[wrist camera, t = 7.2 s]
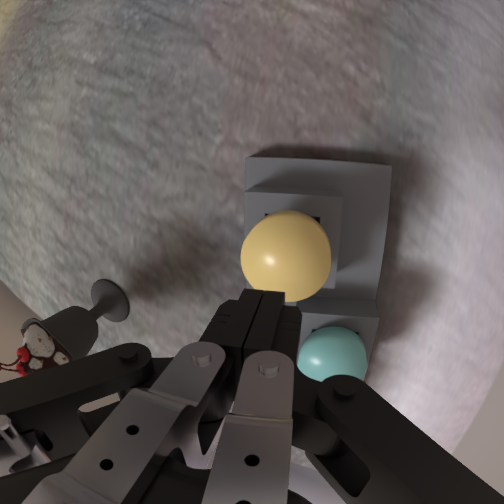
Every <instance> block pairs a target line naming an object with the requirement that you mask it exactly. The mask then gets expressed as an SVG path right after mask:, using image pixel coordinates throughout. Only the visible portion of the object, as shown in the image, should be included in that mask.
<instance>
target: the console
mask: <svg viewBox="0 0 504 504" xmlns="http://www.w3.org/2000/svg"><path fill="white" fill-rule="evenodd" d="M391 181H392V166H390V165H387V164H377V163H367V162H356V161H344V160H331V159H315V158H295V157H264V156H249V157H246V191H245V192H244V241H245V239H246V237H247V236H248V234H249V233H250V232H251V230H252V229H253V228H254V226H255V225H256V224H257V223H258V222H259V221H260V220H261V219H262V218H264V217H265V216H267V215H269V214H271V213H273V212H277V211H282V210H293V211H298V212H302V213H304V214H307V215H308V216H310V217H312V218H313V219H315V220H316V221H317V222H318V223H319V224H320V225H321V226H322V228H323V229H324V231H325V232H326V234H327V236H328V239H329V243H330V250H331V268H330V272H329V275H328V278H327V280H326V282H325V283H324V285H323V286H322V287H321V288H320V289H319V290H318V291H317V292H316V293H315V294H313V295H311V296H310V297H308V298H306V299H303V300H300V301H295V302H285V305H288V306H298V308H299V309H300V311H301V313H302V314H303V315H302V325H301V334H300V344H299V351H300V347H301V344H302V342H303V341H304V340H305V338H306V337H307V336H308V335H310V334H311V333H312V332H314V331H316V330H318V329H321V328H325V327H332V326H335V327H343V328H347V329H350V330H352V331H353V332H355V333H356V334H357V335H359V336H360V338H361V339H362V341H363V343H364V345H365V351H366V359H367V368H368V364H369V361H370V357H371V353H372V349H373V345H374V341H375V337H376V333H377V329H378V325H379V320H380V316H379V312H378V309H377V305H376V301H375V300H376V295H377V289H378V284H379V278H380V272H381V266H382V259H383V253H384V246H385V238H386V230H387V222H388V213H389V204H390V193H391ZM245 281H246V288H249V289H254V288H253V287H252V286H251V284H250V283H249V282H248V280H247V279H246V277H245ZM298 358H299V352H298ZM298 358H297V365H298ZM366 371H367V369H366ZM365 375H366V372H365V374H364V376H363V378H362V379H361V380H362V381H364V378H365Z"/></svg>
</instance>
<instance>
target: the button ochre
mask: <svg viewBox="0 0 504 504" xmlns="http://www.w3.org/2000/svg"><path fill="white" fill-rule="evenodd" d="M241 265H242V270H243V272H244V275H245V277H246V279H247V280H248V282H249V283H250V284H251V286H252V287H253V288H254V289H259V290H264V291H265V290H270V291H280V292H285V302H295V301H300V300H303V299H306V298H308V297H310V296H311V295H313V294H315V293H316V292H317V291H318V290H319V289H320V288H321V287H322V286H323V285H324V283H325V282H326V280H327V278H328V275H329V272H330V268H331V250H330V243H329V239H328V236H327V234H326V232H325V231H324V229H323V228H322V226H321V225H320V224H319V223H318V222H317V221H316V220H315V219H313V218H312V217H310V216H308V215H307V214H304V213H302V212H298V211H293V210H282V211H277V212H273V213H271V214H269V215H267V216H265V217H264V218H262V219H261V220H260V221H259V222H258V223H257V224H256V225H255V226H254V228H253V229H252V230H251V232H250V233H249V234H248V236H247V237H246V239H245V241H244V243H243V246H242V250H241Z"/></svg>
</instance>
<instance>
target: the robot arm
mask: <svg viewBox="0 0 504 504" xmlns="http://www.w3.org/2000/svg"><path fill="white" fill-rule="evenodd" d="M302 315H303V314H302V313H301V311H300V309H299V308H298V306H288V305H285V292H280V291H270V290H265V291H264V290H259V289H249V288H244V290H243V292H242V294H241V296H240V298H239V300H230V299H229V300H228V301H226V302H225V303H223V304H222V305H220V306H219V308H218V310H217V311H216V313H215V315H214V316H213V318H212V320H211V322H210V323H209V325H208V326H207V328H206V330H205V331H204V333H203V335H202V336H201V338H200V340H199V341H198V342H194V343H191V344H188V345H186V346H184V347H183V348H182V349H181V350H180V351H179V352H178V353H177V355H176V356H175V357H171V358H152V356H151V352H150V350H149V349H148V348H147V347H146V346H145V345H142V344H139V343H125V344H122V345H119V346H116V347H113V348H110V349H107V350H104V351H101V352H98V353H95V354H92V355H89V356H86V357H83V358H80V359H77V360H74V361H71V362H68V363H65V364H62V365H58V366H55V367H52V368H49V369H46V370H43V371H39V372H36V373H33V374H30V375H26V376H23V377H20V378H16V379H13V380H9V381H6V382H3V383H0V504H312V503H311V502H309V501H308V500H307V499H305V498H304V497H302V496H300V495H299V494H297V493H295V492H293V491H291V490H289V489H288V484H289V471H290V459H291V445H292V446H295V447H297V448H300V449H302V450H305V454H306V456H307V458H308V459H309V461H310V462H311V463H312V464H313V465H314V467H315V468H316V469H317V470H318V471H319V473H320V474H321V475H322V476H323V477H324V478H325V480H326V481H327V482H328V483H329V484H330V486H331V487H332V488H333V489H334V490H335V491H336V492H337V494H338V495H339V496H340V497H341V498H342V499H343V500H344V501H345V503H346V504H504V496H502V495H501V494H499V493H498V492H497V491H496V490H495V489H493V488H492V487H491V486H489V485H488V484H487V483H485V482H484V481H483V480H482V479H480V478H479V477H478V476H477V475H475V474H474V473H473V472H472V471H470V470H469V469H468V468H467V467H466V466H464V465H463V464H462V463H461V462H459V461H458V460H457V459H455V458H454V457H453V456H452V455H451V454H449V453H448V452H447V451H446V450H445V449H443V448H442V447H441V446H440V445H438V444H437V443H436V442H435V441H434V440H432V439H431V438H430V437H429V436H427V435H426V434H425V433H424V432H423V431H421V430H420V429H419V428H418V427H417V426H415V425H414V424H413V423H412V422H411V421H409V420H408V419H407V418H406V417H405V416H404V415H402V414H401V413H400V412H399V411H398V410H396V409H395V408H394V407H393V406H392V405H390V404H389V403H388V402H387V401H386V400H385V399H383V398H382V397H381V396H380V395H379V394H378V393H376V392H375V391H374V390H373V389H372V388H370V387H369V386H368V385H367V384H366V383H365V382H363V381H362V380H361V379H359V378H357V377H354V376H351V375H344V374H340V375H333V376H330V377H328V378H326V379H324V380H323V381H322V382H320V381H317V380H314V379H312V378H309V377H308V376H306V375H305V374H303V373H302V372H301V371H300V370H299V368H298V366H297V358H298V352H299V344H300V334H301V325H302ZM116 392H118V395H119V398H120V401H118V402H115V403H112V404H110V405H107V406H104V407H101V408H99V409H96V410H93V411H91V412H81V411H80V410H78V408H79V407H80V406H82V405H83V404H86V403H89V402H92V401H94V400H97V399H100V398H103V397H105V396H108V395H111V394H114V393H116ZM233 401H234V405H233V409H232V412H231V413H229V410H230V408H231V405H232V403H233ZM218 441H219V442H218ZM217 443H218V446H217V449H216V453H215V457H214V460H213V464H212V468H211V469H206V468H207V464H208V461H209V459H210V457H211V455H212V453H213V451H214V449H215V447H216V445H217Z"/></svg>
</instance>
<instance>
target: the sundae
mask: <svg viewBox="0 0 504 504" xmlns="http://www.w3.org/2000/svg"><path fill="white" fill-rule="evenodd" d="M91 298H92V302H93V304H94V307H93V308H92V309H91V310H90V311H88V310H86V309H85V308H82V307H79V306H72V307H69V308H67V309H64V310H62V311H60V312H58V313H56V314H54V315H53V316H51V317H49V318H47V319H45V320H42V321H39V320H37V319H36V318H32V319H28V320H27V321H26V322H25V323H24V324H23V326H22V329H21V333H22V335H23V339H22V347H21V348H19V349H18V350H17V356H18V359H17V360H16V361H15V362H14V363H12V364H9V365H6V364H2V363H0V370H1V369H4V370H8V371H14V372H17V373H18V374H19V375H20V376H22V377H23V376H26V375H30V374H33V373H36V372H39V371H43V370H46V369H49V368H52V367H55V366H58V365H62V364H65V363H68V362H71V361H74V360H77V359H80V358H83V357H85V356H86V355H87V354H88V352H89V351H90V349H91V348H92V346H93V344H94V343H95V341H96V339H97V337H98V324H97V321H96V320H97V319H98V318H99V317H100V316H103V317H105V318H106V319H108V320H110V321H112V322H121V321H123V320H125V319H126V317H127V315H128V303H127V300H126V297H125V296H124V294H123V293H122V291H121V290H120V289H119V288H118V287H117V286H116V285H115V284H113V283H111V282H109V281H107V280H98V281H96V282H95V283H94V284H93V286H92V289H91ZM19 360H20V362H19V363H18V361H19ZM16 363H18V364H17V366H16V370H12V369H5V368H2V367H1V365H4V366H12V365H14V364H16Z"/></svg>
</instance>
